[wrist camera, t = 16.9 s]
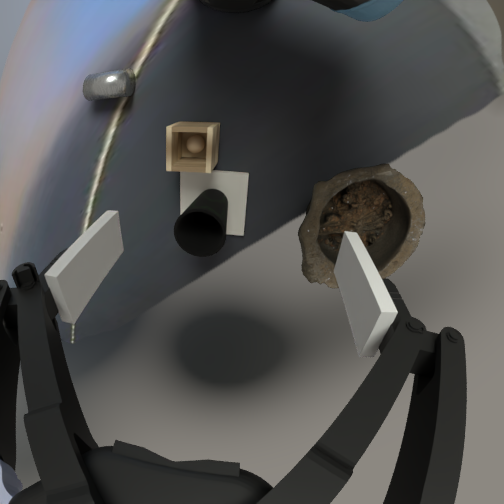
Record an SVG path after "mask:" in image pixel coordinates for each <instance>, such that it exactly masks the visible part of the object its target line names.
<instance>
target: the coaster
mask: <svg viewBox="0 0 504 504" xmlns="http://www.w3.org/2000/svg"><path fill="white" fill-rule="evenodd" d="M248 179H249V173H245V172H233V171H219V170H213V171H212V172H211V173H200V172H180V207H181V214H182V213H183V212H184V211H185V210H186V209H187V208H188V207H189V206H190V205H191V203H192V202H193V201H194V200H195V199H196V198H197V197H198V196H199V195H200V194H201V193H202V192H203V191H205V190H207V189H217V190H220V191H221V192H223V193H224V194H225V196H226V197H227V199H228V213H227V228H226V234H229V235H240V236H244V226H245V214H246V202H247V191H248Z"/></svg>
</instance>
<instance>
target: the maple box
mask: <svg viewBox="0 0 504 504" xmlns="http://www.w3.org/2000/svg"><path fill="white" fill-rule="evenodd" d="M219 133H220V123H216V122H177V123H175V124H172V125H170V126H167V131H166V171H180V172H200V173H211V172H212V171H213V169H214V167H215V166H216V164H217V163H218V150H219ZM193 135H199V136H201V137H202V138H203V139H204V141H205V146H204V148H203V150H202V151H200V152H198V153H192V152H190V151H189V150H188V148H187V140H188V139H189V138H190V137H191V136H193Z"/></svg>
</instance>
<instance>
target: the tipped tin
mask: <svg viewBox="0 0 504 504" xmlns="http://www.w3.org/2000/svg"><path fill="white" fill-rule="evenodd" d="M134 88H135V74H134V72H133V70H132V69H122V70H115V71H108V72H102V73H96V74H91V75H88V76H87V77H86V79H85V81H84V84H83V94H84V97H85V98H86V99H87V100H88V101H92V100H99V99H107V98H116V97H127V96H131V95H132V93H133V91H134Z"/></svg>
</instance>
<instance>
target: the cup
mask: <svg viewBox="0 0 504 504" xmlns="http://www.w3.org/2000/svg"><path fill="white" fill-rule="evenodd" d="M227 213H228V199H227V197H226V196H225V194H224V193H223V192H221V191H220V190H217V189H207V190H205V191H203V192H202V193H201V194H200V195H199V196H198V197H197V198H196V199H195V200H194V201H193V202H192V203H191V205H190V206H189V207H188V208H187V209H186V210H185V211H184V212H183V213H182V214H181V215H180V216H179V217H178V219H177V221H176V222H175V226H174V236H175V239H176V241H177V243H178V244H179V246H180V247H181V248H182V249H183V250H185V251H186V252H187V253H189V254H192V255H194V256H199V257H206V256H210V255H213V254H215V253H217V252H218V251H219V250H220V249H221V248H222V247H223V245H224V243H225V240H226V228H227Z"/></svg>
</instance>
